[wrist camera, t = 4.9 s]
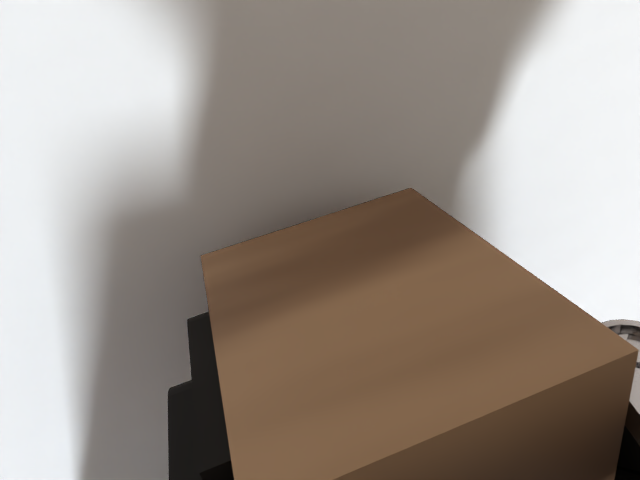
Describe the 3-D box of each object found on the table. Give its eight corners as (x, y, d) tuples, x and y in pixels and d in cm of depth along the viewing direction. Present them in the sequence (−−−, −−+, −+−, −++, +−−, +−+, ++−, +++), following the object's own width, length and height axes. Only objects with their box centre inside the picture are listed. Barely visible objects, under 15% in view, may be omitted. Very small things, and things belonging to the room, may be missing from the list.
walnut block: (200, 255, 10) (239, 518, 5) (411, 187, 11) (637, 349, 6) (260, 411, 12) (330, 697, 7) (428, 346, 13) (598, 561, 8)
